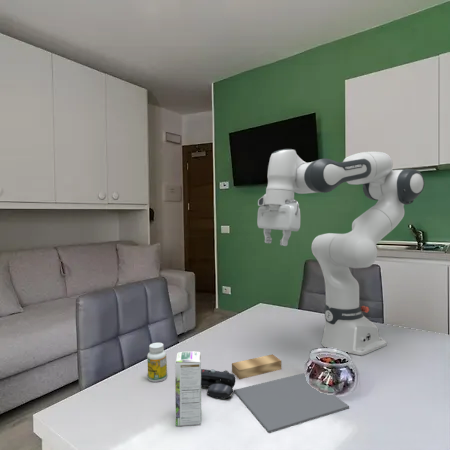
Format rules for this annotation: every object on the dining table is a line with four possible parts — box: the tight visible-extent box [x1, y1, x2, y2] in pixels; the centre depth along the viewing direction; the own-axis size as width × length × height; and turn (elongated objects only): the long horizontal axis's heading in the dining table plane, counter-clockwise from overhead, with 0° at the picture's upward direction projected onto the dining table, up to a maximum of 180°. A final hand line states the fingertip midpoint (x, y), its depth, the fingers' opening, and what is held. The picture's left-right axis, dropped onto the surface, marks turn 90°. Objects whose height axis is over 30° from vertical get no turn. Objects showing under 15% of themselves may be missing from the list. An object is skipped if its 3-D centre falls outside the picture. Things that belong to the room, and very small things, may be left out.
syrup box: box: [174, 350, 202, 427], centre depth 76 cm, size 6×6×14 cm
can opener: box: [201, 368, 237, 399], centre depth 90 cm, size 18×7×6 cm, turn 62°
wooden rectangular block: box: [231, 354, 282, 380], centre depth 99 cm, size 14×5×3 cm, turn 114°
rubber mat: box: [233, 372, 350, 434], centre depth 83 cm, size 22×18×1 cm
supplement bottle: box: [146, 342, 168, 383], centre depth 96 cm, size 5×5×10 cm
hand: (275, 244), depth 104 cm, fingers open, 8 cm apart
